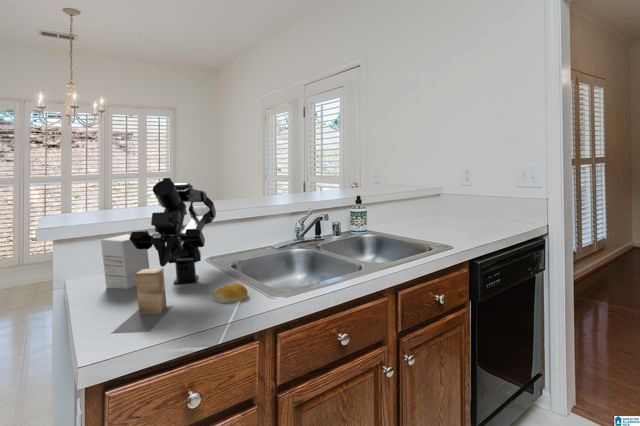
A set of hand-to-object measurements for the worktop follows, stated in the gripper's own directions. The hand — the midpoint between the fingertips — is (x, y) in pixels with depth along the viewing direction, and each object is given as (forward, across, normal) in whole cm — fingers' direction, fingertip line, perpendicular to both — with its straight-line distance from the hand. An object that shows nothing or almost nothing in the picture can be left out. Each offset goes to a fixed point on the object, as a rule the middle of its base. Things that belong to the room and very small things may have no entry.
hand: (162, 265), depth 97 cm
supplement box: (-4, -17, +18) cm, 25 cm away
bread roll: (+7, +17, +7) cm, 20 cm away
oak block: (+12, 0, +1) cm, 12 cm away
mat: (+16, 0, -2) cm, 16 cm away
